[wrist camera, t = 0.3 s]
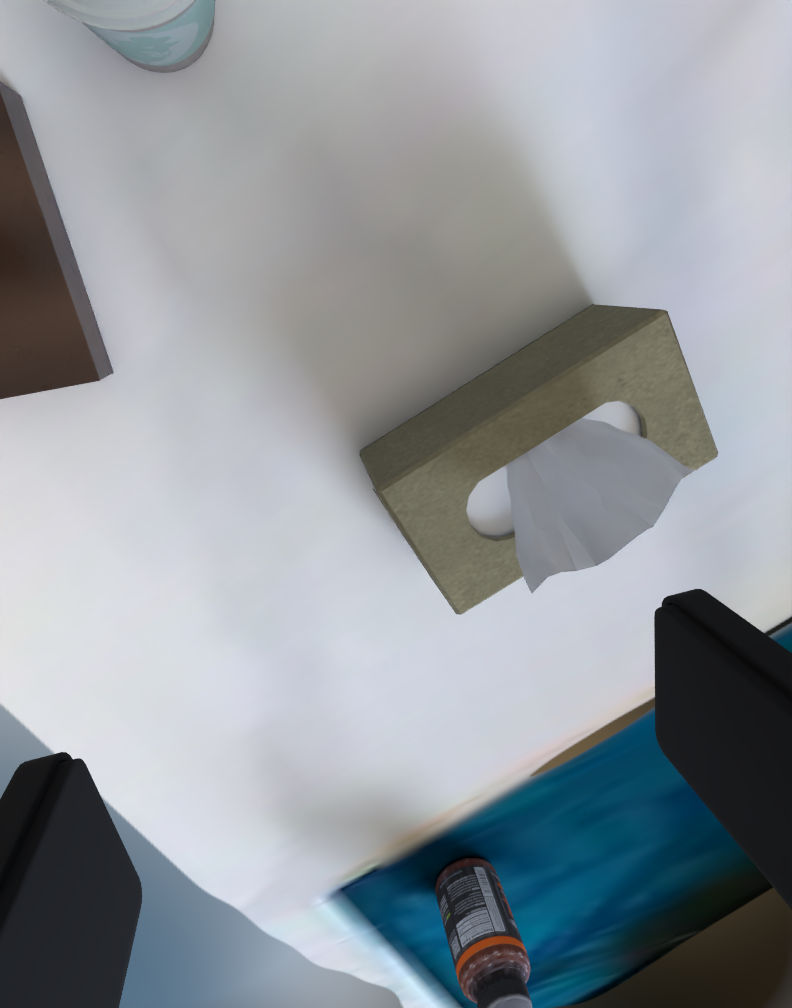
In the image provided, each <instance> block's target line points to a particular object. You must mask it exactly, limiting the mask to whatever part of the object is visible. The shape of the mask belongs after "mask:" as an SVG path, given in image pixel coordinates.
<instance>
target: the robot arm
mask: <svg viewBox="0 0 792 1008" xmlns="http://www.w3.org/2000/svg"><path fill="white" fill-rule="evenodd" d="M654 619H655V731H656V737H657V741H658V743H659V746H660V748H661V749H662V751H663V753H664V754H665V756H666V757H667V758H668V759H669V761H670V762H671V763H672V764H673V765H674V767H675V768H676V769H677V770H678V772H679V773H680V774H681V775H682V776H683V778H684V779H685V780H686V781H687V782H688V784H689V785H690V786H691V787H692V789H693V790H694V791H695V792H696V793H697V795H698V796H699V797H700V798H701V800H702V801H703V802H704V803H705V804H706V806H707V807H708V808H709V809H710V810H711V812H712V813H713V814H714V815H715V817H716V818H717V819H718V820H719V821H720V823H721V824H722V825H723V826H724V828H725V829H726V830H727V831H728V832H729V834H730V835H731V836H732V837H733V839H734V840H735V841H736V842H737V843H738V845H739V846H740V847H741V848H742V849H743V851H744V852H745V853H746V854H747V856H748V857H749V858H750V859H751V860H752V862H753V863H754V864H755V865H756V867H757V868H758V869H759V870H760V871H761V873H762V874H763V875H764V876H765V877H766V879H767V880H768V881H769V882H770V884H771V885H772V886H773V887H774V888H775V890H776V891H777V892H778V893H779V895H780V896H781V897H782V898H783V899H784V901H785V902H786V903H787V904H788V906H789V907H790V908H791V909H792V653H791V652H789V651H788V650H786V649H785V648H784V647H782V646H781V645H780V644H778V643H777V642H775V641H774V640H773V639H771V638H770V637H768V636H767V635H766V634H764V633H763V632H761V631H760V630H759V629H757V628H756V627H754V626H753V625H752V624H750V623H749V622H748V621H746V620H745V619H743V618H742V617H741V616H739V615H738V614H736V613H735V612H734V611H732V610H731V609H729V608H728V607H727V606H725V605H724V604H723V603H721V602H720V601H718V600H717V599H716V598H714V597H713V596H711V595H710V594H709V593H707V592H706V591H704V590H702V589H694V590H690V591H686V592H683V593H679V594H675V595H671V596H667V597H666V598H664V600H663V602H662V607H660V608H658V609H656V611H655V617H654ZM141 903H142V888H141V882H140V879H139V876H138V875H137V872H136V870H135V868H134V866H133V864H132V862H131V859H130V857H129V855H128V853H127V851H126V849H125V847H124V845H123V843H122V841H121V838H120V836H119V834H118V832H117V830H116V828H115V826H114V824H113V821H112V819H111V817H110V815H109V813H108V811H107V809H106V807H105V804H104V802H103V800H102V798H101V796H100V794H99V792H98V790H97V787H96V785H95V783H94V781H93V779H92V777H91V775H90V773H89V770H88V768H87V766H86V764H85V763H84V761H83V760H81V759H72V758H71V756H70V755H69V754H67V753H66V752H61V753H57V754H53V755H49V756H46V757H41V758H38V759H34V760H30V761H26V762H24V763H22V764H20V766H19V767H18V768H17V770H16V771H15V773H14V775H13V777H12V779H11V780H10V783H9V784H8V786H7V788H6V790H5V792H4V793H3V795H2V797H1V799H0V1008H119V1003H120V999H121V995H122V990H123V986H124V981H125V977H126V972H127V968H128V963H129V959H130V954H131V949H132V945H133V941H134V936H135V931H136V926H137V922H138V918H139V913H140V909H141Z"/></svg>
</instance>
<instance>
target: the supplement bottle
mask: <svg viewBox="0 0 792 1008" xmlns="http://www.w3.org/2000/svg"><path fill="white" fill-rule="evenodd" d="M435 889H436V896H437V901H438V905H439V909H440V913H441V917H442V920H443V924H444V928H445V932H446V936H447V940H448V943H449V947H450V951H451V955H452V959H453V963H454V966H455V970H456V974H457V978H458V981H459V984H460V987H461V989H462V991H463V993H464V994H465V996H466V997H467V998H469V999H470V1000H471V1001H473V1002H475V1003H477V1007H478V1008H532V1002H531V999H530V996H529V993H528V989H527V986H526V983H527V980H528V978H529V975H530V962H529V958H528V955H527V953H526V950H525V948H524V945H523V941H522V939H521V936H520V934H519V931H518V928H517V926H516V923H515V921H514V918H513V915H512V912H511V910H510V907H509V905H508V902H507V899H506V897H505V894H504V891H503V889H502V885H501V883H500V880H499V877H498V876H497V874H496V871H495V869H494V868H493V866H492V865H491V864H490V863H489V862H487V861H486V860H483V859H479V858H466V859H462V860H459V861H456V862H454V863H453V864H451V865H449V866H447V867H446V868H445V869H444V871H443V872H442V873H441V874H440V876H439V877H438V880H437V882H436V888H435Z"/></svg>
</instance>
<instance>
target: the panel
mask: <svg viewBox="0 0 792 1008" xmlns="http://www.w3.org/2000/svg"><path fill="white" fill-rule="evenodd" d="M112 373H113V370H112V367H111V364H110V361H109V358H108V355H107V352H106V349H105V346H104V343H103V340H102V337H101V334H100V331H99V328H98V325H97V322H96V319H95V316H94V313H93V310H92V307H91V304H90V301H89V298H88V295H87V292H86V289H85V286H84V283H83V280H82V277H81V274H80V271H79V268H78V265H77V262H76V259H75V256H74V253H73V250H72V247H71V244H70V241H69V238H68V235H67V233H66V230H65V227H64V224H63V221H62V218H61V215H60V212H59V209H58V206H57V203H56V200H55V197H54V194H53V191H52V188H51V185H50V182H49V179H48V176H47V173H46V170H45V167H44V164H43V161H42V158H41V155H40V152H39V149H38V146H37V143H36V140H35V137H34V134H33V131H32V128H31V125H30V122H29V119H28V116H27V113H26V110H25V107H24V104H23V101H22V98H21V96H20V95H19V94H17V93H16V92H15V91H13V90H12V89H10V88H9V87H8V86H6V85H5V84H4V83H2V82H1V81H0V399H4V398H9V397H15V396H20V395H25V394H31V393H36V392H41V391H47V390H52V389H58V388H63V387H68V386H74V385H79V384H84V383H90V382H95V381H100V380H101V379H103V378H105V377H107V376H109V375H110V374H112Z"/></svg>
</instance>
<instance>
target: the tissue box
mask: <svg viewBox="0 0 792 1008" xmlns="http://www.w3.org/2000/svg"><path fill="white" fill-rule="evenodd" d="M717 455H718V451H717V448H716V446H715V443H714V440H713V437H712V434H711V432H710V429H709V426H708V423H707V420H706V418H705V415H704V412H703V409H702V407H701V404H700V401H699V398H698V395H697V393H696V390H695V387H694V384H693V381H692V379H691V376H690V373H689V370H688V368H687V365H686V362H685V359H684V356H683V354H682V351H681V348H680V345H679V343H678V340H677V337H676V334H675V331H674V329H673V326H672V323H671V320H670V317H669V315H668V312H667V311H665V310H660V309H647V308H633V307H620V306H606V305H591V306H590V307H588V308H587V309H585V310H583V311H582V312H580V313H579V314H577V315H575V316H574V317H572V318H571V319H569V320H567V321H566V322H564V323H563V324H561V325H559V326H558V327H556V328H555V329H553V330H552V331H550V332H548V333H547V334H545V335H544V336H542V337H540V338H539V339H537V340H536V341H534V342H532V343H531V344H529V345H528V346H526V347H525V348H523V349H521V350H520V351H518V352H517V353H515V354H513V355H512V356H510V357H509V358H507V359H505V360H504V361H502V362H501V363H499V364H497V365H496V366H494V367H493V368H491V369H490V370H488V371H486V372H485V373H483V374H482V375H480V376H478V377H477V378H475V379H474V380H472V381H470V382H469V383H467V384H466V385H464V386H463V387H461V388H459V389H458V390H456V391H455V392H453V393H451V394H450V395H448V396H447V397H445V398H443V399H442V400H440V401H439V402H437V403H435V404H434V405H432V406H431V407H429V408H428V409H426V410H424V411H423V412H421V413H420V414H418V415H416V416H415V417H413V418H412V419H410V420H408V421H407V422H405V423H404V424H402V425H401V426H399V427H397V428H396V429H394V430H393V431H391V432H389V433H388V434H386V435H385V436H383V437H381V438H380V439H378V440H377V441H375V442H373V443H372V444H370V445H369V446H367V447H366V448H364V449H362V450H361V451H360V457H361V459H362V461H363V463H364V466H365V468H366V470H367V472H368V474H369V476H370V478H371V480H372V483H373V485H374V487H375V489H376V491H377V492H376V491H375V490H374V489H373V490H374V491H375V493H376V494H377V496H378V497H379V499H380V500H381V502H382V504H383V505H384V507H385V508H386V510H387V511H388V513H389V514H390V516H391V517H392V519H393V520H394V522H395V523H396V525H397V526H398V528H399V530H400V531H401V533H402V534H403V536H404V537H405V539H406V540H407V542H408V543H409V545H410V546H411V548H412V549H413V551H414V553H415V554H416V556H417V557H418V559H419V560H420V562H421V563H422V565H423V566H424V568H425V569H426V571H427V572H428V574H429V575H430V577H431V578H432V580H433V581H434V583H435V584H436V586H437V587H438V588H439V590H440V591H441V593H442V594H443V596H444V597H445V598H446V600H447V601H448V603H449V604H450V606H451V607H452V609H453V610H454V611H455V613H456V614H460V615H461V614H463V613H464V612H466V611H468V610H469V609H471V608H473V607H474V606H476V605H477V604H479V603H481V602H482V601H484V600H486V599H487V598H489V597H490V596H492V595H494V594H495V593H497V592H498V591H500V590H502V589H503V588H505V587H507V586H508V585H510V584H511V583H513V582H515V581H516V580H518V579H520V578H521V577H523V576H524V578H525V580H526V583H527V585H528V587H529V589H530V591H531V593H533V592H534V591H535V590H536V589H537V588H538V587H539V586H540V584H541V583H542V582H543V581H544V580H545V579H546V578H547V577H549V576H552V575H554V574H557V573H560V572H568V571H577V570H581V569H585V568H589V567H593V566H597V565H599V564H600V563H602V562H604V561H606V560H608V559H609V558H611V557H612V556H613V555H614V554H616V553H617V552H618V551H619V550H621V549H622V548H623V547H624V546H626V545H627V544H628V543H629V542H630V541H632V540H633V539H634V538H635V537H637V536H638V535H640V534H641V533H643V532H644V531H646V530H647V529H649V528H651V527H653V526H654V524H655V523H656V521H657V519H658V518H659V516H660V515H661V513H662V512H663V510H664V508H665V507H666V505H667V503H668V501H669V499H670V497H671V496H672V494H673V492H674V490H675V488H676V486H677V485H678V483H679V482H680V481H681V479H682V478H684V477H685V476H687V475H688V474H690V473H692V472H693V471H695V470H697V469H698V468H700V467H701V466H703V465H705V464H706V463H708V462H710V461H711V460H713V459H714V458H716V457H717Z"/></svg>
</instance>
